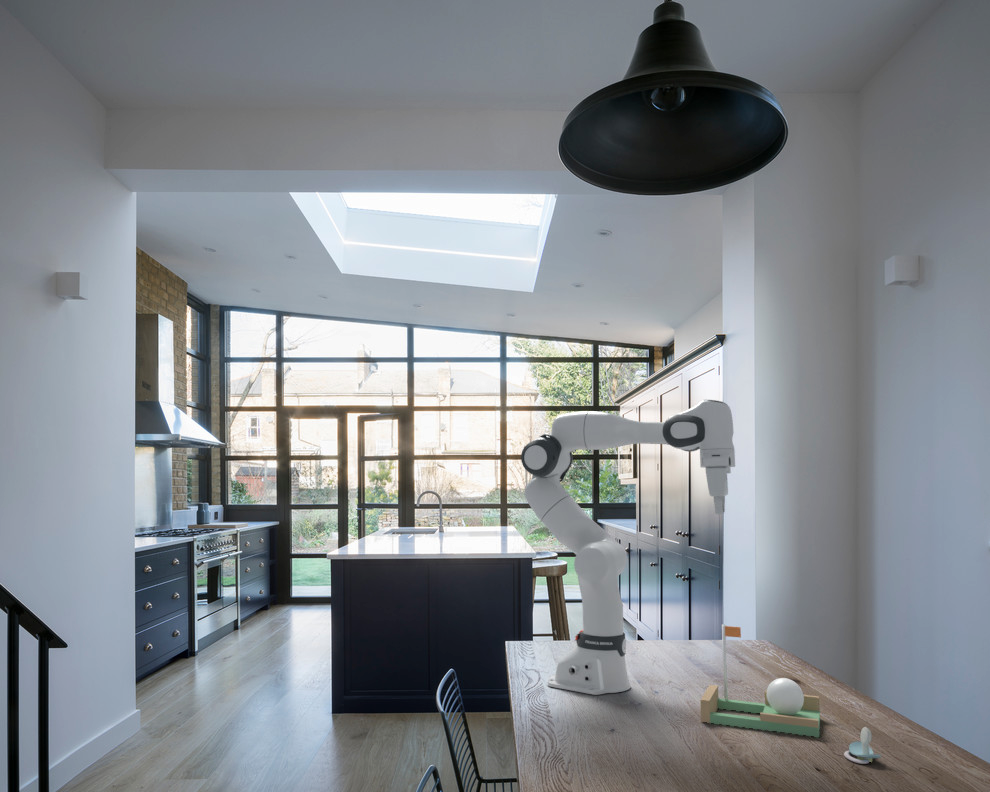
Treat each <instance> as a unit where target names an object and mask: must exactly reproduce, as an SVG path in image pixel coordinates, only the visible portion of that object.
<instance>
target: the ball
mask: <svg viewBox="0 0 990 792" xmlns="http://www.w3.org/2000/svg"><path fill="white" fill-rule="evenodd" d="M766 691H767V699H768V702H769V704H770V706H771V707H772V708H773V709H774V710H775V711H776V712H778V713H780V714H782V715H793V714H796V713H797V712H799V711H800V710H801V708H802V706H803V703H804V695H805V694H804V692H803V690H802V688H801V686H800V685H799V684H798V683H796V681H794V680H792V679H790V678H788V677H787V678H786V677H780V678H776V679H774V680H772V681H771V682H770V683H769V685H768V686H767V689H766Z"/></svg>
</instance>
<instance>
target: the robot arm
mask: <svg viewBox="0 0 990 792" xmlns="http://www.w3.org/2000/svg"><path fill="white" fill-rule="evenodd" d="M733 421H734V420H733V415H732V409H731V407H730V406H729V405H728V404H727V403H726V402H724V401H720V400H717V399H716V400H715V399H703V400H700V401H699V402H698V403H697V404H696V405H694V406H692V407H690V408H688V409H687V410H684V411H682V412H678V413H676V414H673V415H671V416H669V417H668V418H667V419H666V420H665V421H663V422H662V421H661V422H660V421H659V422H658V421H653V422H652V421H639V420H638V421H637V420H633V419H629V418H626V417H623V416H621V415H617V414H616V413H615V414H614V413H610V412H604V411H597V410H596V411H594V410H590V411H589V410H584V411H572V412H566V413H562V414H558V415H557V416H556V417H555V418H554V420H553V422H552V425H551V432H550V433H544V434H542V435H540V436H538V437H536V438H535V439H533V440H531V441H529V442H528V443H527V444H526V445H525V446H524V447H523V449H522V451H521V455H520V460H521V464H522V466H523V468H524V469H525V471H526V472H528V473H529V474H530V475H531V476H532V477H531V478H530V480H529V481H528V482H527V484H526V486H525V487H524V491H523V493H524V494H523V495H524V498H525V500H526V501H527V503H528V505H529V506H530V508H531V510H532V511H533V513H534V514H535V515H536V516H537V518H538V519H539V520H540V522H541V523H542V524H543V525H544V526H545V528H547V530H548V531H549V532H550V533H551V534H552V535H553V537H554V538H555V539H556V540H557V541H558V542H559V543H560V544H561V545H563V546H564V547H566V548H567V549H568V550H569V551H571V552H572V553H574V555H575V558H574V561H573V567H574V568H573V569H574V570H575V573H576V575H577V580H578V585H579V591H580V597H581V603H582V605H581V607H582V629H581V630H579V632H578V633H577V634H576V636H574V638H575V639H574V641H576V645H575V646H574V647H573V648H572V649H570V650H569V651H567V652H566V653H565V654H564V655H563V656H562V657H560V658H559V659H558V662H557V664H556V668H555V669H556V670H555V673H554V674H553V675H551V676H549V678H548V679H547V686H548V687H551V688H556V689H562V690H567V691H573V692H579V693H583V694H589V695H594V696H598V695H604V694H614V693H620V692H621V693H622V692H625V691H627V690H630V688H632V685H631V682H630V679H629V675H628V669H627V664H626V651H627V639H626V633H625V632H624V603H623V600H622V598H621V593H620V589H619V583H618V577H619V576H620V575H621V574H622V573H623V572H624V570H625V568H626V566H627V564H628V563H627V562H628V553H627V551H626V548H624V546H623V545H622V544H620V543H619V542H618V541H616V539H614V537H612V536H611V535H610V534H609V532H607V531H606V530H605V529H603V528H602V527H601V526H600V525H599V524H598V523H597V522H596V521H594V520H593V519H592V518H591V517H590V516H589V515H588V514H587V513H586V512H585V511H584V510H583V509H582V508H581V506H580V505H579V503H577V502H576V501H575V500H574V499H573V498H572V496H571V495H570V494H569V492H567V491H566V490H565V488H563V486H562V485H561V482H563V480H564V479H565V477H566V475H567V473H568V472H569V471H570V469H571V466H572V464H573V459H574V458H573V457H574V456H573V451H577V450H578V451H579V450H582V451H583V450H584V451H588V450H589V451H595V450H596V451H597V450H609V449H614V448H619V447H624V446H628V445H629V446H630V445H638V444H639V445H640V444H641V445H642V444H643V445H646V444H647V445H650V444H651V445H667V446H671V447H672V448H675V449H678V450H681V451H684V452H696V451H698V450H699V460H700V462H699V463H700V464H699V465H700V468H705V474H706V475H705V476H706V482H707V489H708V495H709V497H713V503H714V504H713V505H714V512H715V513H714V514H715V515H723V514H724V513H725V512H726V506H725V505H726V504H725V503H726V496H728V495H729V486H728V485H729V483H728V474H732V473H731V472H732V471H731V470H732V469H731V468H735V467H736V455H735V453H736V451H735V445H734V443H733V438H734V437H733V436H734V422H733Z"/></svg>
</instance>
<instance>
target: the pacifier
mask: <svg viewBox="0 0 990 792" xmlns="http://www.w3.org/2000/svg"><path fill="white" fill-rule="evenodd" d="M872 735H873V734H872V731H871V730H870V728H869V727H866V726H864V727H862V729H861V731H860V736H859V737H860V740H859V741H858V740H857V741H852V742H851V743H850V744H849V745H848V746H849V747H848V749H849V750H846V751H845V752H844V753H843V755H844V757H845V758H846V759H847V760H849V761H851V762H852V763H853V762H854V763H856V764H859V765H860V764H861V765H866V764H870V763H869V762H871V763H873V759H879V758H881V757H882V755H881V754H876V753H874V750H873V748H871V747H870V743H871V741H872V738H873V736H872ZM852 755H853V756H856V758H855V757H853V756H852Z"/></svg>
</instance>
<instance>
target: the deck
mask: <svg viewBox="0 0 990 792" xmlns="http://www.w3.org/2000/svg"><path fill="white" fill-rule="evenodd" d="M721 637H722V638H721V641H722V662H723V663H722V664H723V665H722V666H723V667H722V668H723V689H724V690H723V691H724V692H723V693H724V698H721V697H720V698H719V685H716V684H714V685H713V684H709V685H708V687H707V688H706V690H705V691H704V693H703V695H702V696H701V699H700V720H701V721H700V723H703V722H707V723H706V724H711V723H714V724H713V725H719V724H722V725H721V726H726V725H730V726H729V727H734V726H738V727H737V728H742V727H745V728H744V729H749V728H753V729H752V730H757V729H762V730H761V731H765V730H770V731H769V732H772V731H777V732H776V733H780V732H785V733H784V734H788V733H792V734H791V735H795V734H798V736H803V735H806V736H805V737H811V736H814V737H813V738H820V731H819V730H821V729H820V727H821V726H820V725H821V710H820V709H821V708H820V696H816V695H807V694H803V695H804V703H803V706H802V708H801V710H800V711H799V712H797V713H796V714H793V715H782V714H780V713H778V712H776V711H775V710H774V709H773V708H772V707H771V706H770V704H769V702H768V699H767V690H764V703H763V702H755V701H747V700H738V699H729V689H728V687H729V686H728V665H727V637H729V638H730V637H731V638H739V639H740V638H741V637H742V633H741V626H733V625H732V626H729V625H725V624H721ZM718 708H719V709H718ZM723 709H726V710H725V711H731V710H736V711H735V712H740V711H744V712H743V713H748V712H751V713H750V714H756V713H760V714H759V717H757V716H756V717H755V716H746V715H739V714H733V713H723V712H717V711H718V710H723Z"/></svg>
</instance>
